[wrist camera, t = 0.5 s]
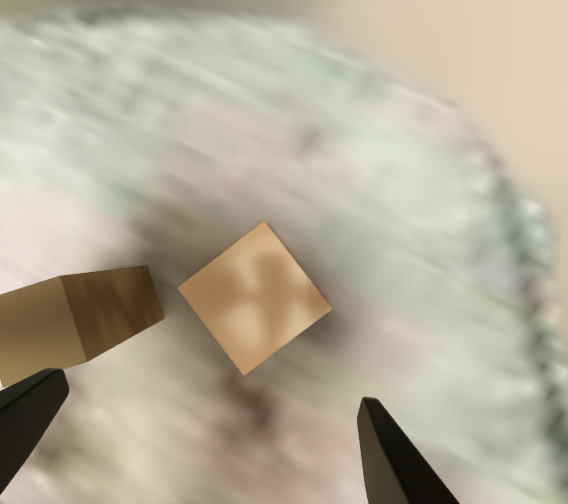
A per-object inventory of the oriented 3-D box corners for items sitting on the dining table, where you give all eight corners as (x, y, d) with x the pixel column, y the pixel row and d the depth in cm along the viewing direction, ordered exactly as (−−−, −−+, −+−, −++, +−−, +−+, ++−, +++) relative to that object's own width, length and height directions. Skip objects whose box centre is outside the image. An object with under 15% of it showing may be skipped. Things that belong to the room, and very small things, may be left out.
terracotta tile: (248, 362, 24) (243, 375, 21) (188, 283, 24) (176, 287, 21) (327, 302, 24) (332, 309, 21) (266, 223, 24) (264, 220, 21)
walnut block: (164, 318, 24) (87, 362, 15) (111, 335, 24) (2, 387, 15) (147, 265, 24) (59, 275, 15) (94, 282, 24) (-25, 302, 15)
